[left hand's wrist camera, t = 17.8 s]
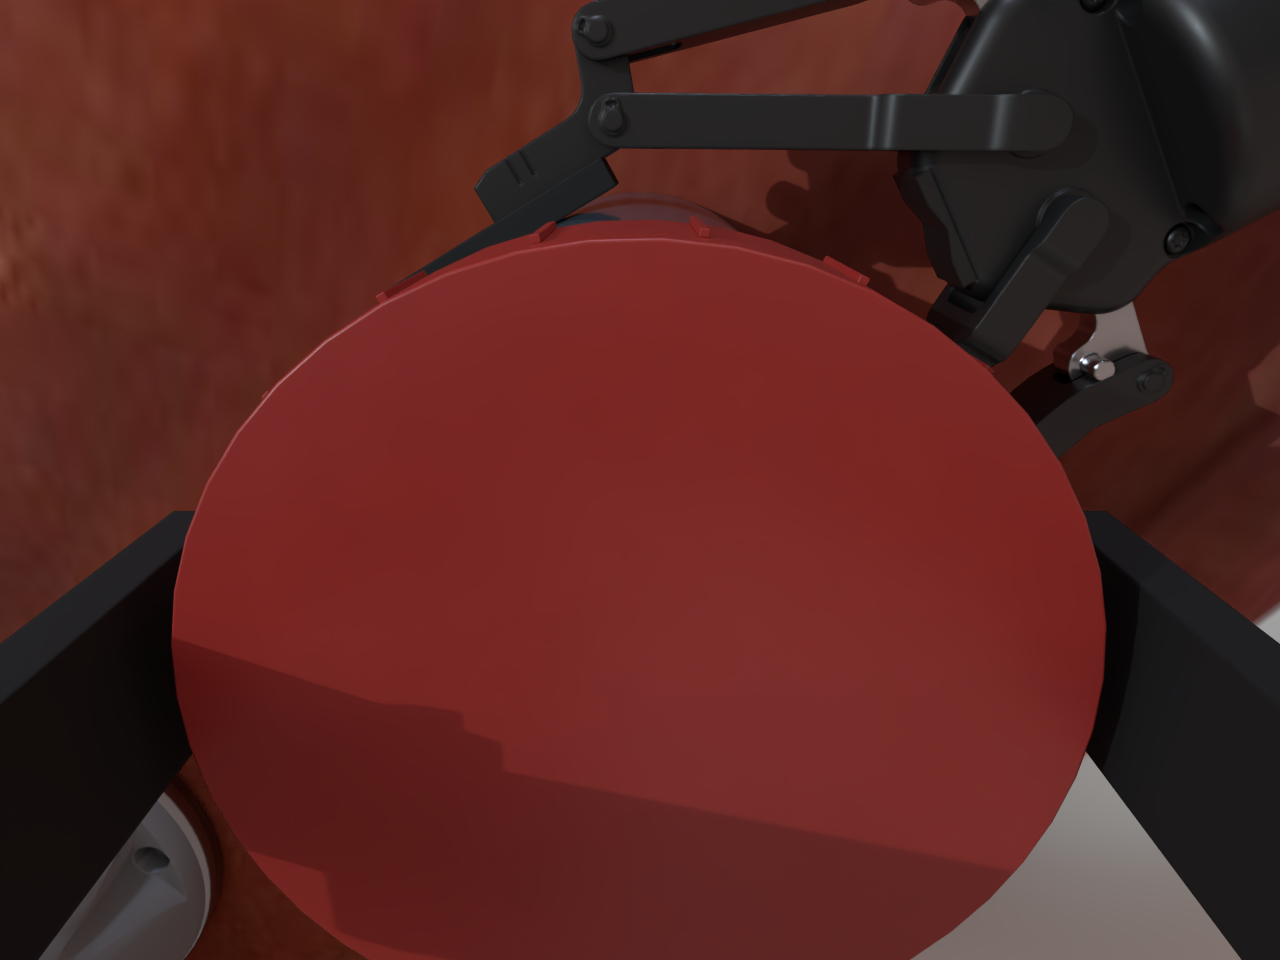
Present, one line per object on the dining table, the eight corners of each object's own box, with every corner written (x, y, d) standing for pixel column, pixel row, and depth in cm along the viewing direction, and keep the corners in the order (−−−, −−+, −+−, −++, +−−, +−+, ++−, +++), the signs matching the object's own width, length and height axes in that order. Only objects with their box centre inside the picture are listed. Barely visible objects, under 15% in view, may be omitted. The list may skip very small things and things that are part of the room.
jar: (462, 429, 31) (183, 861, 12) (542, 146, 27) (328, 130, 8) (722, 513, 32) (838, 1026, 13) (830, 253, 28) (1200, 444, 10)
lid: (1079, 790, 13) (1168, 919, 11) (453, 961, 15) (419, 1107, 13) (921, 77, 10) (1007, 54, 7) (105, 392, 11) (-33, 453, 9)
